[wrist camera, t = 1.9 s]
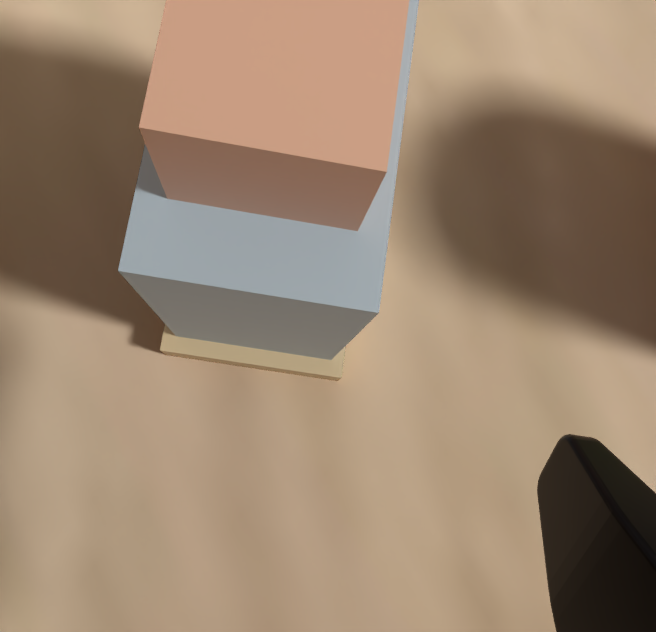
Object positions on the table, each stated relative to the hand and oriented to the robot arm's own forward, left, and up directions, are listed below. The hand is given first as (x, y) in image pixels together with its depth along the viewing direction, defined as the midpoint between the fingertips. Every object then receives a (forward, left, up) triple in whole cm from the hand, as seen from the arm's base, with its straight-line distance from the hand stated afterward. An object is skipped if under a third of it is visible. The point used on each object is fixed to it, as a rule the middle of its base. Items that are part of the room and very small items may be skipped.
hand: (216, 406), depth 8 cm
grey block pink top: (+6, -2, -12) cm, 14 cm away
